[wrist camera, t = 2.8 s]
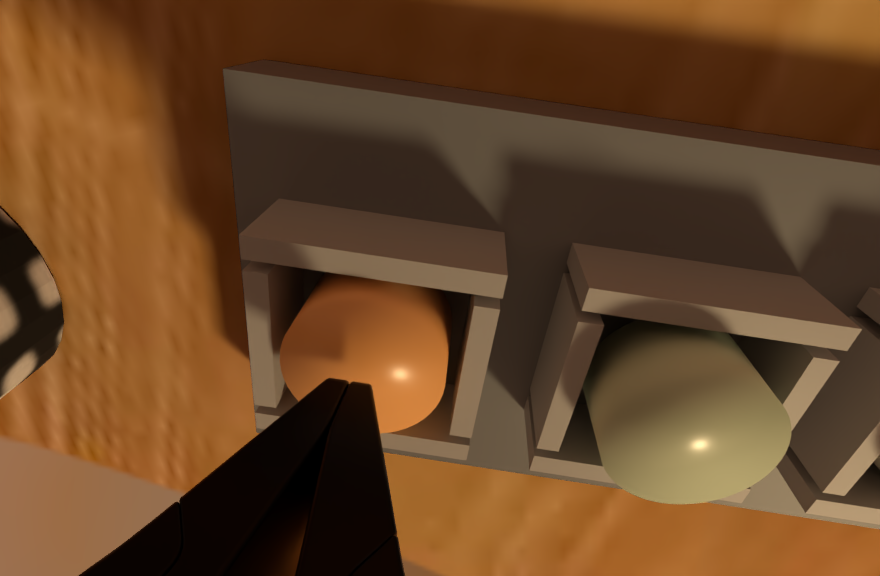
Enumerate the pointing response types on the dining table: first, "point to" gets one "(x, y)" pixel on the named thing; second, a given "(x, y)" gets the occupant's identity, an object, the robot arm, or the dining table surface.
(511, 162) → the rack
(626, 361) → the sage button
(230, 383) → the dining table surface
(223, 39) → the dining table surface
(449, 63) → the dining table surface
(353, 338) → the orange button
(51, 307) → the spotted tube
